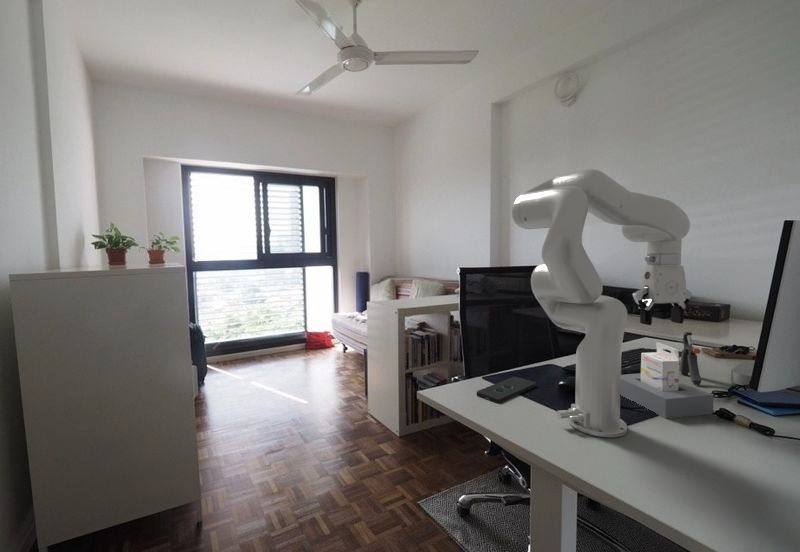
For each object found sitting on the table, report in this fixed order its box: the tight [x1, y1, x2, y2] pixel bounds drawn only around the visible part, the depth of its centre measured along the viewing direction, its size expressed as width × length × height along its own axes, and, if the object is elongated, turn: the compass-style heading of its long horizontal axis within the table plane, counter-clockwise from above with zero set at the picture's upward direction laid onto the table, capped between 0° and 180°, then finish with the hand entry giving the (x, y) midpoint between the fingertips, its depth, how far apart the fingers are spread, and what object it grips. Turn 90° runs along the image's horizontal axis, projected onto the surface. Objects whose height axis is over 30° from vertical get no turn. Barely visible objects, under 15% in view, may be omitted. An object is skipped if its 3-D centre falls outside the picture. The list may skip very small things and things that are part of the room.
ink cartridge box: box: [640, 342, 680, 392], centre depth 103 cm, size 9×5×15 cm, turn 3°
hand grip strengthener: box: [679, 331, 702, 386], centre depth 119 cm, size 2×12×15 cm, turn 159°
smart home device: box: [476, 376, 537, 404], centre depth 113 cm, size 8×2×20 cm
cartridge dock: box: [620, 372, 715, 419], centre depth 103 cm, size 14×18×5 cm
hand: (661, 323), depth 101 cm, fingers open, 9 cm apart
